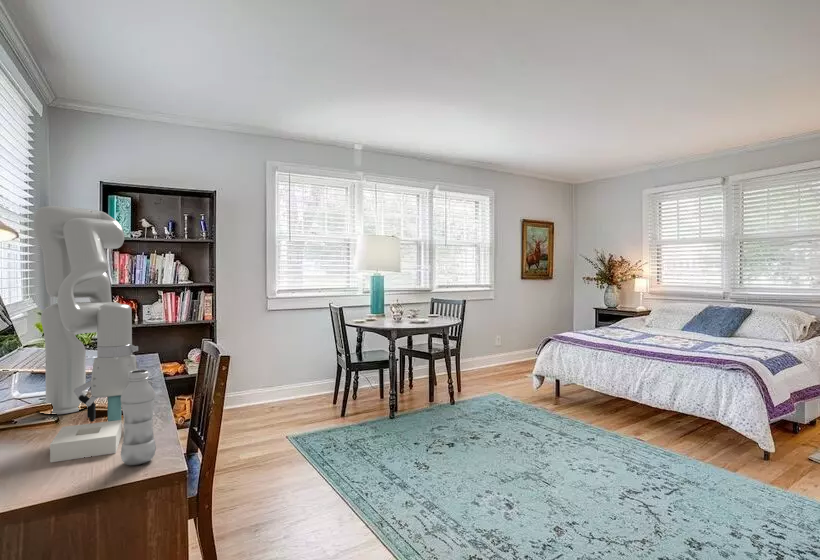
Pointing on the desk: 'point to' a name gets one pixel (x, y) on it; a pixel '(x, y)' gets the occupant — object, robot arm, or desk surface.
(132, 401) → the plastic bottle
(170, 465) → the desk surface
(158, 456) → the desk surface
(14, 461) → the desk surface
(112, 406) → the peg
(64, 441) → the hole block
